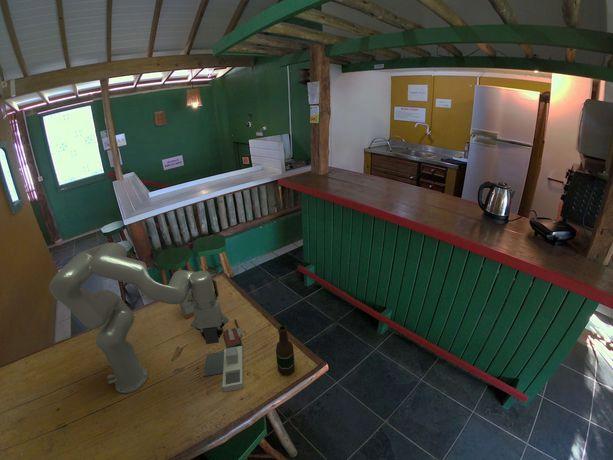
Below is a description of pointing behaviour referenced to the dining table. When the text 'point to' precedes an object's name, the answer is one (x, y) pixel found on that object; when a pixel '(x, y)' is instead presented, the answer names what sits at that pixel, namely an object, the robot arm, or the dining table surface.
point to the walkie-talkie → (233, 336)
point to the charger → (211, 335)
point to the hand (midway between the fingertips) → (212, 335)
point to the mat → (214, 364)
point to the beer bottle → (284, 353)
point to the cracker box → (187, 306)
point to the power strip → (233, 369)
